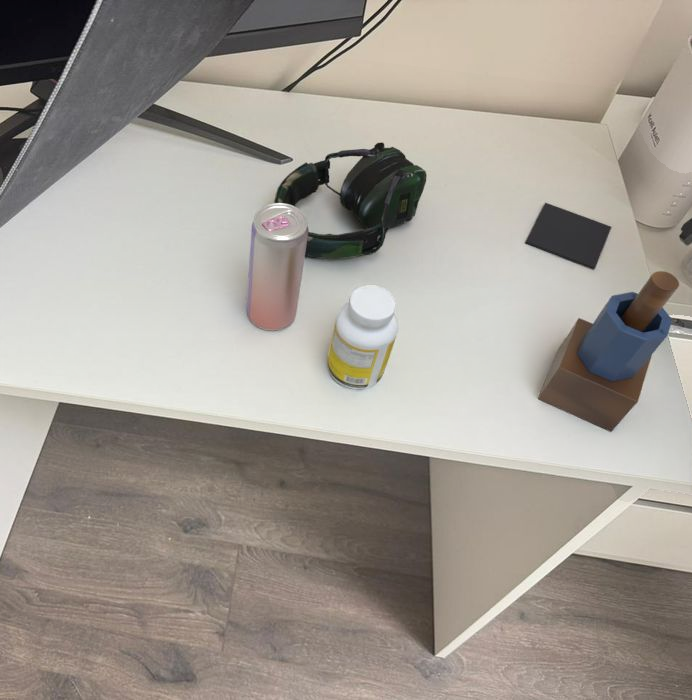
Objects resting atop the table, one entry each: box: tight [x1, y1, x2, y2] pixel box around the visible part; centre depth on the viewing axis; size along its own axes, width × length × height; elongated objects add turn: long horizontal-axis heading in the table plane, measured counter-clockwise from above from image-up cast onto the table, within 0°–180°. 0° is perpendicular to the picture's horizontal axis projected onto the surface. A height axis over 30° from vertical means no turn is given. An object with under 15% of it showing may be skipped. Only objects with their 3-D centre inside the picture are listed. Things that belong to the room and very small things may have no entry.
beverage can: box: [246, 202, 309, 332], centre depth 79 cm, size 6×6×15 cm
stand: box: [537, 270, 680, 432], centre depth 72 cm, size 8×8×18 cm
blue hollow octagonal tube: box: [577, 291, 673, 382], centre depth 72 cm, size 6×6×7 cm
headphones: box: [273, 142, 427, 260], centre depth 92 cm, size 13×13×20 cm
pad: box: [524, 202, 612, 270], centre depth 94 cm, size 9×9×1 cm
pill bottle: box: [326, 284, 399, 390], centre depth 76 cm, size 6×6×12 cm
